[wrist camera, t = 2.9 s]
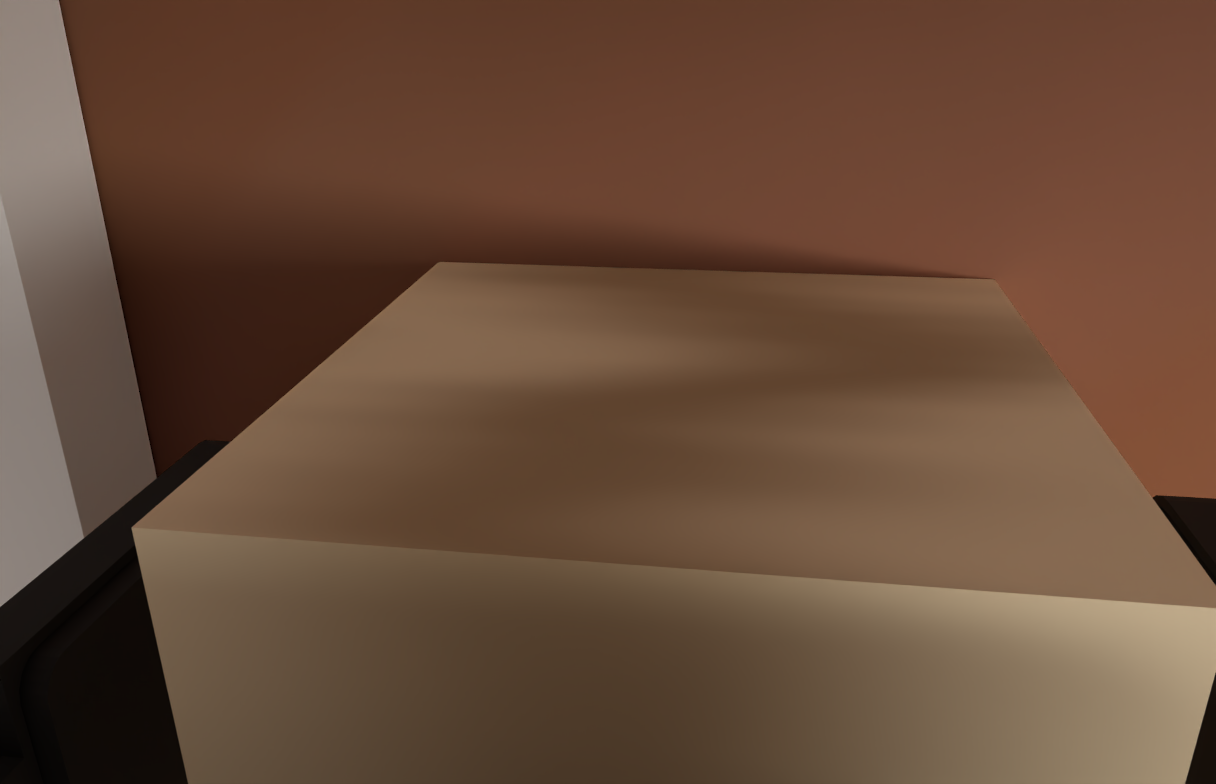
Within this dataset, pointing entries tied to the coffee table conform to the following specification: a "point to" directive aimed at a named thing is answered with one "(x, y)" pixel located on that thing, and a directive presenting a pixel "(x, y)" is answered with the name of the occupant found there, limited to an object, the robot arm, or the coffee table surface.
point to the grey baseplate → (56, 315)
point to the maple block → (679, 549)
